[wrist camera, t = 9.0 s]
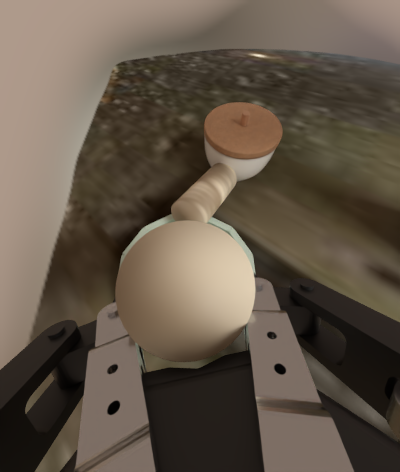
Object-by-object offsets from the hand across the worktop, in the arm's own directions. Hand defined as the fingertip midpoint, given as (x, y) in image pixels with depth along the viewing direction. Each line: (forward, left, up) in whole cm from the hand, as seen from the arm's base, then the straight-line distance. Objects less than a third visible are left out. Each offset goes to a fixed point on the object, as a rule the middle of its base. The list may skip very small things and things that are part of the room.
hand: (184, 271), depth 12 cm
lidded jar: (-22, -5, -13) cm, 26 cm away
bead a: (+2, +1, -4) cm, 5 cm away
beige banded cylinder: (-7, -4, -7) cm, 11 cm away
